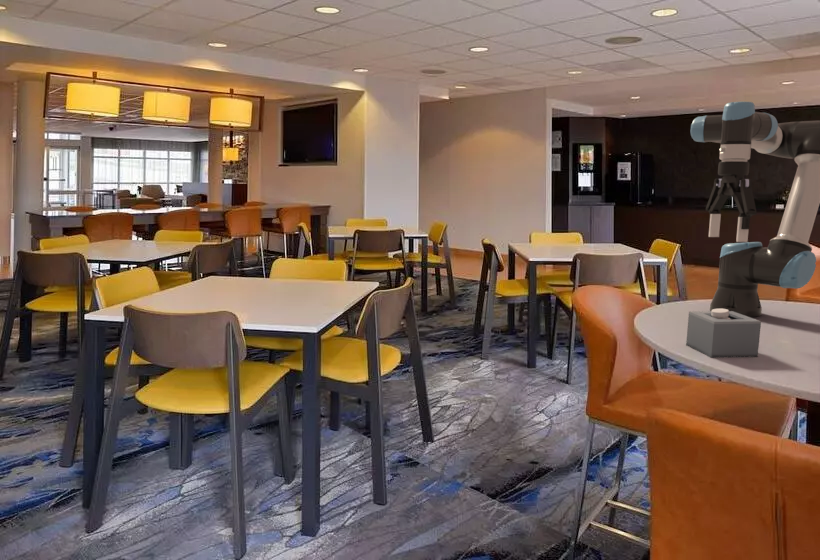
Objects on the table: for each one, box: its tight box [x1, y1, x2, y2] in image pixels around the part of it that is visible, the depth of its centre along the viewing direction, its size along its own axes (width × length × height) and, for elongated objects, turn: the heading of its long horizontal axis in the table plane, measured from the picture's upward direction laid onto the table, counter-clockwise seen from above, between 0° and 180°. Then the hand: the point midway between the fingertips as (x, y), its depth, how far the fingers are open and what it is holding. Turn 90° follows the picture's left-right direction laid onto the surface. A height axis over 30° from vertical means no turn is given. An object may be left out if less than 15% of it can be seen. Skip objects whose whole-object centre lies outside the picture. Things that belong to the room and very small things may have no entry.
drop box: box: [685, 310, 762, 359], centre depth 167 cm, size 12×12×9 cm
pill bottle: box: [711, 309, 730, 319], centre depth 166 cm, size 5×5×10 cm
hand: (727, 239), depth 182 cm, fingers open, 13 cm apart
